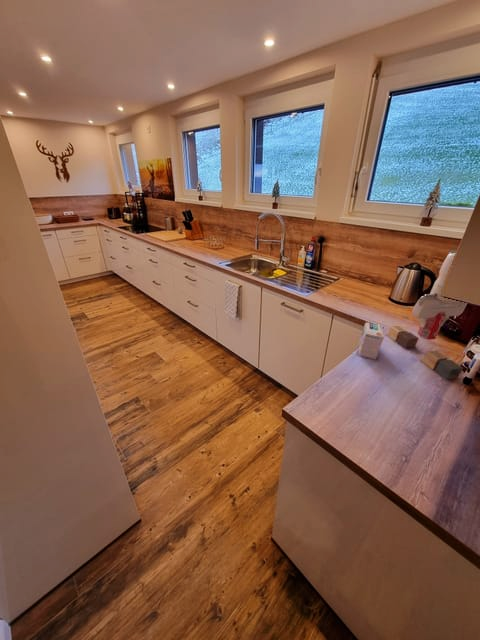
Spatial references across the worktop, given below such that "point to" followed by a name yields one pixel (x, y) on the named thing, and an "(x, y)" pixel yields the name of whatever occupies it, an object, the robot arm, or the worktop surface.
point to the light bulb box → (371, 340)
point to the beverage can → (432, 327)
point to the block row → (431, 358)
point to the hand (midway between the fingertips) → (430, 325)
